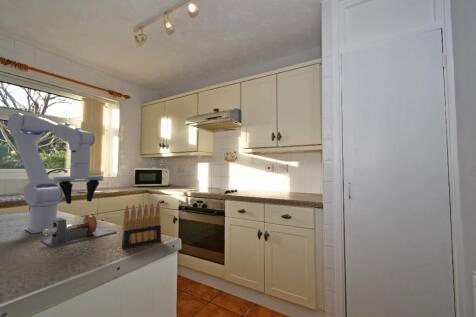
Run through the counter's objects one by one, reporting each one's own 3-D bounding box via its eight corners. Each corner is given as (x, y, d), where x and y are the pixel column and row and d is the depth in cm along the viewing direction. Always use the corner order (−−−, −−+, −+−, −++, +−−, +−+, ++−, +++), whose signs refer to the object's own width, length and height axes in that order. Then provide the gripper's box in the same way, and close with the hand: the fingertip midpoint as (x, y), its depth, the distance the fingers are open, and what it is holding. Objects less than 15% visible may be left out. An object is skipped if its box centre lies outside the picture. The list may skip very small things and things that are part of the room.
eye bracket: (40, 241, 68) (41, 218, 69) (103, 228, 83) (103, 210, 83) (51, 247, 63) (52, 223, 63) (116, 232, 77) (117, 213, 78)
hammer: (39, 241, 66) (39, 220, 67) (91, 230, 78) (91, 213, 78) (45, 245, 63) (46, 223, 63) (99, 233, 74) (99, 215, 75)
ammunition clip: (123, 249, 62) (124, 206, 62) (121, 247, 63) (122, 205, 64) (161, 241, 68) (162, 202, 69) (159, 240, 70) (159, 201, 70)
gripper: (59, 163, 71) (57, 206, 70) (107, 164, 83) (106, 200, 82) (51, 163, 75) (50, 204, 74) (98, 164, 87) (97, 199, 86)
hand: (79, 202), depth 78 cm, fingers open, 6 cm apart
